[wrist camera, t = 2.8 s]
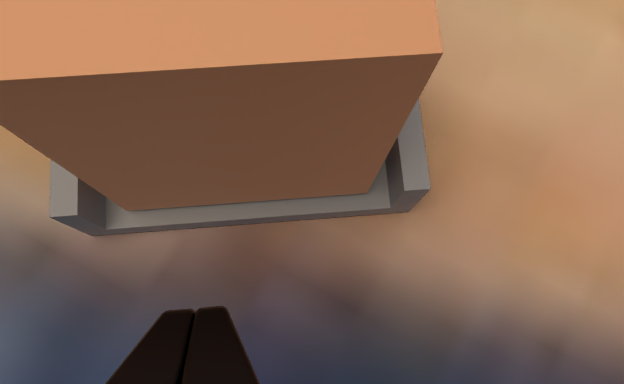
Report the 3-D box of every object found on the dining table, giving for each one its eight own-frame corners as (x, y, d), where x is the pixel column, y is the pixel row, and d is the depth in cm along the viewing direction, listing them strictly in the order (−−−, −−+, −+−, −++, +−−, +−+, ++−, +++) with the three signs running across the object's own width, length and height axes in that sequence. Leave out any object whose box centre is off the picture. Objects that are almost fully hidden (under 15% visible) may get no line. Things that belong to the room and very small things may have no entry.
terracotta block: (366, 193, 19) (442, 52, 9) (126, 211, 19) (-60, 84, 9) (355, 83, 20) (413, -151, 10) (125, 98, 19) (-43, -130, 10)
